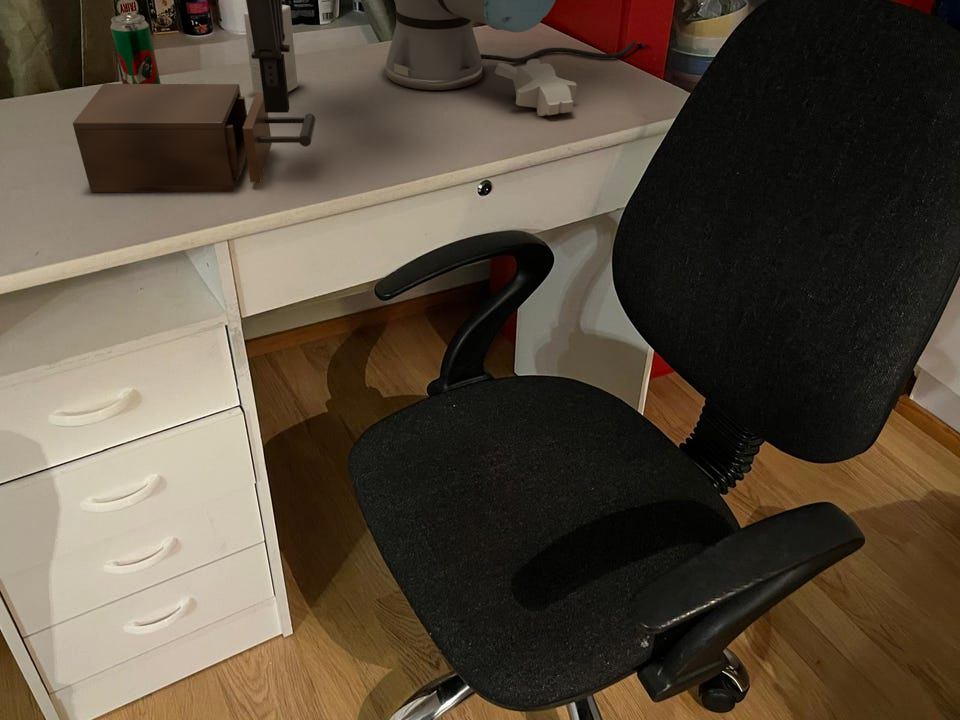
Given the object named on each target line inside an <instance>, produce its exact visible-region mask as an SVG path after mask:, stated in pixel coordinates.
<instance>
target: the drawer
mask: <svg viewBox="0 0 960 720" xmlns="http://www.w3.org/2000/svg"><path fill="white" fill-rule="evenodd" d="M316 120H317V119H316V116H315V114H313V113H306V114H305V115H304V116H303V117H302V116H300V117H299V116H298V117H297V116H296V117H295V116H289V117H288V116H279V117H278V116H277V117H276V116H275V117H271V116H269V113H265V106H264V97H263V93H256V94H255V95H254V97H253V100H252V102H251V104H250V107H249V110H247V103H246V97H245V96H242V95H241V96H237V98H236V100H235V103H234V105H233V107H232V110H231V112H230V114H229V117H228V119H227V121H226V124H225V126H224V127H225V133H226V139H227V145H228V152H229V158H230V164H231V171H232V177H238V178H241V174H242V172H243V168H244V166H245V164H247V170H248V176H249V182H250V183H261V181H262V178H263V174H264V170H265V167H266V164H267V160H268V157H269V154H270V150H271V147H272V144H299V145H301V146H302V147H309V146H310V145H311V143H312V139H313V133H314V129H315V126H316ZM270 124H302V125H301V130H300V134H299V136H297V135H296V136H295V135H294V136H291V135H290V136H289V135H285V136H283V135H281V136H280V135H279V136H278V135H275V136H273V135H272V133H271V126H270ZM246 162H247V163H246Z"/></svg>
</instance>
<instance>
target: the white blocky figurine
mask: <svg viewBox="0 0 960 720" xmlns="http://www.w3.org/2000/svg"><path fill="white" fill-rule="evenodd" d="M494 74H496V75H497V76H501V77H502V78H506V79H510V80H512V81H513V85H514V91H515V95H516V98H515V105H517V106H520V107H528V108H535V109H536V114H537V115H538V117H544V116H545V117H546V116H552V115H558V114H565V113H573V109H574V100H573V99H575V98H576V95H577V94H576V93H577V86H578V85H577V83H576V82H575V81H571V80H568V79H565V78H561V77H558V76H557V74H556V70H555V68H554V67H553V66H552V65H551V64H549V63H548V62H547V63H546V62H545V63H541V60H540V59H538V58H533V59H531V60H528V61H526V65H521V66H518V68H516V67H514V66H512V65H510V63H507V62H499V63H498V64H497V65H496V68H495V69H494Z"/></svg>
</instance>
